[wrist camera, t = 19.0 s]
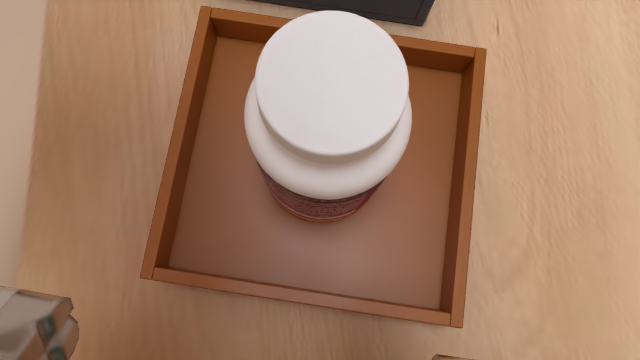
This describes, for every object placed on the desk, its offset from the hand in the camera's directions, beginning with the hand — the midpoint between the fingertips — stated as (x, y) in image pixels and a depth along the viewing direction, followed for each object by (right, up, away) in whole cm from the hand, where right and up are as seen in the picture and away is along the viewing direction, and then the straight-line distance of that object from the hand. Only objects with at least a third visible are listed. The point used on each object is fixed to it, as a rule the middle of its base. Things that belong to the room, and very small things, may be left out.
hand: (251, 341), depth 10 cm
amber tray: (+2, +4, +15) cm, 15 cm away
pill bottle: (+2, +4, +14) cm, 15 cm away
